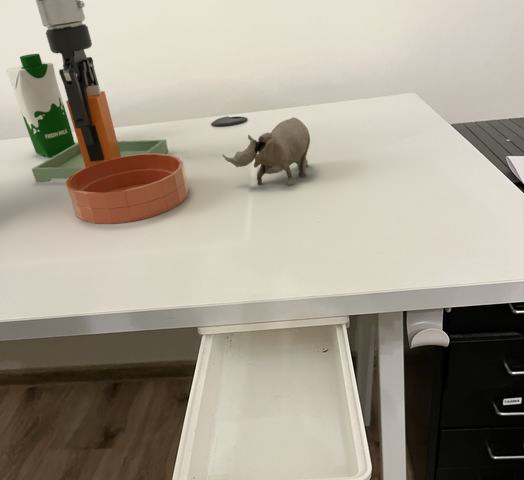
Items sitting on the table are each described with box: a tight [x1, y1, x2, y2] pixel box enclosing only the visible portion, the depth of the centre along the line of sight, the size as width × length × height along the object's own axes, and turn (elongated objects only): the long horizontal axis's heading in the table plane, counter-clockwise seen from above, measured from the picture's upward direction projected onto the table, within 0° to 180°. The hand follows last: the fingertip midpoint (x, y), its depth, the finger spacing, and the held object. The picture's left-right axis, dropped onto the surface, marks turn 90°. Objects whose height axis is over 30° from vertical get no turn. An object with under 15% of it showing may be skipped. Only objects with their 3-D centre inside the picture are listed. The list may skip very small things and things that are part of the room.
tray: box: [31, 139, 169, 182], centre depth 113 cm, size 22×18×2 cm
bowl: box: [65, 153, 189, 225], centre depth 92 cm, size 19×19×6 cm
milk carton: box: [5, 53, 76, 159], centre depth 122 cm, size 9×9×20 cm
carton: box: [65, 85, 121, 167], centre depth 109 cm, size 6×6×15 cm
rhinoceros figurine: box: [221, 116, 311, 186], centre depth 94 cm, size 8×14×15 cm
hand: (101, 154), depth 113 cm, fingers closed on carton, 6 cm apart
